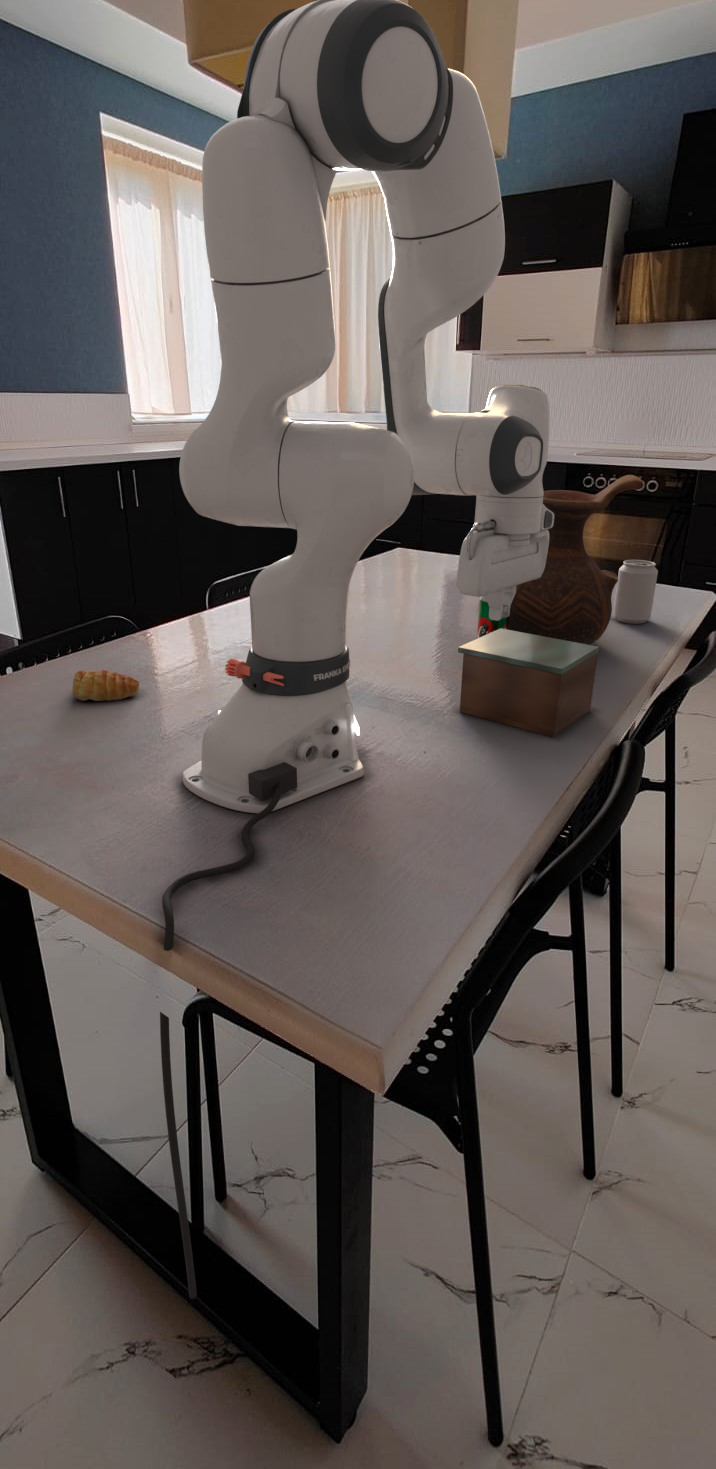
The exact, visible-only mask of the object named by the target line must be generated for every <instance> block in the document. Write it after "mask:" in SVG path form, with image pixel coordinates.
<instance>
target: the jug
mask: <svg viewBox="0 0 716 1469" xmlns="http://www.w3.org/2000/svg"><path fill="white" fill-rule="evenodd" d="M642 485H643V480H642V479H641V478H640V477H638V476H636V475H633V474H627V475H624V476H621V477H619V478H618V479H615V481H613V482H612V483H611V484H609V485H608V486H606V487H605V488H604V489H602V490H601V491H599V492H597V493H596V494H591V493H587V492H582V491H578V490H569V489H568V490H567V489H549V490H543V491H544V496H543V505H545V507H546V508H547V509H549V510H550V511H552V512H553V513H554V524H553V527H552V528H550V529H548V531H549V546H548V553H547V559H546V565H545V569H544V571H543V573H542V576H541V577H540V578H538V579H535V580H532V581H528V582H525V583H522V584H519V585H516V593H515V596H514V598H513V601H512V603H511V605H510V613H509V622H508V630H512V631H517V632H523V633H528V634H533V635H539V636H544V637H549V638H555V639H560V640H565V641H571V642H576V643H581V644H587V645H592V644H593V643H594V642H597V641H598V640H600V638H601V637H602V636H603V635H604V633H605V632H606V630H607V629H608V626H609V624H610V621H611V619H612V614H613V603H612V595H613V591H614V589H615V586H616V585H617V582H618V575H617V574H616V572H614V571H609V570H607V569H601V568H600V567H599V566H598V564H597V563H596V562H595V560H594V559H593V558H591V556H590V555H589V554H588V553H587V551H586V548H585V544H584V538H583V537H584V529H585V525H586V522H587V521H588V519H589V518H590V517H591V516H592V515H594V514H595V513H597V512H600V511H602V510H605V509H606V508H607V507H608V506H609V504H610V503H611V502H612V501H613V499H614V498H615V497H616V495H618V494H620V493H623V492H626V491H630V490H633V491H638V490H640V489H641V488H642Z"/></svg>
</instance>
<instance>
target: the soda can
mask: <svg viewBox="0 0 716 1469" xmlns="http://www.w3.org/2000/svg"><path fill="white" fill-rule="evenodd" d="M508 622H509V616H508V617H506V618H504V619H501V620H498V621H496V620H491V619H490V618H489V605H488V601H487V598H486V595H484V596H481V597H479V602H478V616H477V627H476V628H477V629H476V639H478V638H480V637H482V636H484V635H487V634H489V633H491V632H494V631H496V630H498V629H500V628H501V629H507V630H508Z"/></svg>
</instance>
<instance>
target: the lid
mask: <svg viewBox="0 0 716 1469" xmlns="http://www.w3.org/2000/svg"><path fill="white" fill-rule="evenodd" d="M599 650H600V647H599V646H597V645H592V644H589V645H587V644H581V643H576V642H571V641H565V640H560V639H555V638H549V637H544V636H539V635H533V634H528V633H523V632H517V631H512V630H507V629H501V628H500V629H498V630H496V631H494V632H491V633H489V634H487V635H484V636H482V637H480V638H478V639H477V638H476V639H473V640H471V641H469V642H467V643H464V644H462V645H460V646H458V647H457V653H459V654H468V655H472V656H477V657H482V658H486V659H491V660H496V661H500V662H505V663H510V664H514V665H519V666H524V667H528V668H533V669H538V670H542V671H547V672H552V673H556V674H561V675H562V674H563V673H565V672H567V671H568V670H570V669H571V668H573V667H575V666H576V665H578V664H580V663H581V662H583V661H585V660H586V659H588V658H590V657H591V656H593V655H594V654H596V653H598V654H599Z"/></svg>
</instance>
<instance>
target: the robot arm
mask: <svg viewBox="0 0 716 1469" xmlns="http://www.w3.org/2000/svg"><path fill="white" fill-rule="evenodd" d="M201 167H202V169H201V172H202V174H201V175H202V176H201V178H202V179H201V188H202V189H201V190H202V192H201V193H202V194H201V195H202V214H203V216H202V217H203V231H204V239H205V240H204V241H205V249H206V250H205V251H206V256H207V264H208V270H209V278H210V284H211V289H212V290H211V291H212V295H213V303H214V309H215V316H216V323H217V324H216V325H217V333H218V342H219V352H220V378H219V384H218V390H217V393H216V397H215V401H214V403H213V405H212V407H211V409H210V411H209V412H208V415H207V416H206V418H205V419H204V420H203V421H202V423H201V424H200V425H199V426H198V427H196V429H194V431H193V432H192V433H191V434H190V435H189V436H188V439H187V440H186V441H185V443H184V445H183V448H182V451H181V454H180V459H179V467H178V472H179V473H178V474H179V481H180V485H181V489H182V492H183V495H184V497H185V498H186V500H187V502H188V504H189V506H191V508H192V509H193V510H194V511H195V512H196V514H198V515H199V516H200V517H201V516H202V517H204V518H208V519H211V520H215V521H219V522H222V523H227V524H230V525H234V526H238V527H260V528H280V529H282V528H283V529H293V530H296V532H297V533H296V534H297V535H296V537H297V538H296V539H297V540H296V545H295V549H294V552H293V553H292V554H290V555H287V556H286V557H283V558H281V559H279V560H277V561H275V562H273V563H272V564H270V565H268V566H266V567H265V568H264V569H262V570H261V571H259V573H258V574H257V575H256V576H255V578H254V579H253V581H252V583H251V586H250V589H249V612H250V631H251V632H250V634H251V646H250V647H249V650H248V652H247V656H246V659H245V660H246V661H244V660H243V661H241V660H238V659H236V658H230V659H228V660H227V661H226V664H225V666H224V671H225V674H227V676H229V677H236V678H237V679H241V683H242V684H241V685H240V686H239V688H238V690H236V692H235V693H234V694H233V696H232V697H231V698H230V699H229V700H228V701H227V703H226V704H225V705H224V707H223V708H222V709H221V710H218V711H217V715H216V717H215V718H213V719H212V721H211V722H210V723H209V724H208V726H207V727H206V728H205V730H204V732H203V737H202V742H201V755H200V756H201V759H200V760H198V761H197V762H196V763H194V764H192V765H190V766H189V767H187V768H186V769H184V770H183V772H182V776H181V780H182V783H183V785H184V786H185V788H186V789H188V790H189V791H190V792H191V793H192V794H194V795H196V796H198V797H199V798H202V799H203V800H206V801H208V802H210V803H212V804H215V805H217V806H220V807H224V808H226V809H230V810H234V811H239V812H243V813H250V814H255V815H254V816H253V817H251V818H250V819H249V820H248V821H247V822H246V823H245V824H244V826H243V827H242V830H241V839H242V843H243V845H244V847H245V848H246V851H247V853H246V854H245V855H244V856H243V857H242V858H240V859H238V860H236V861H234V862H232V863H228V864H224V865H219V866H216V867H209V868H206V869H200V870H197V871H194V872H190V873H187V874H185V875H183V876H181V877H179V878H177V879H176V880H174V881H173V882H172V883H171V884H170V885H169V886H168V887H167V888H166V890H165V891H164V893H163V895H162V898H161V905H162V911H163V916H164V925H165V926H164V927H165V928H164V940H163V941H164V942H163V950H164V951H167V952H168V951H171V950H172V949H173V947H174V937H175V918H174V910H173V906H172V902H171V899H172V897H173V895H174V894H175V893H176V892H177V891H178V890H179V889H181V888H182V887H183V886H185V885H186V884H189V883H192V882H194V881H197V880H201V879H206V878H210V877H215V876H220V875H225V874H228V873H232V872H236V871H237V870H240V869H242V868H244V867H246V866H247V865H249V864H250V863H251V861H252V860H253V859H254V857H255V855H256V848H255V846H254V844H253V842H252V840H251V838H250V832H251V830H252V828H253V827H254V826H255V825H256V824H257V823H259V822H260V821H261V820H263V819H264V818H266V817H267V816H268V815H269V814H271V813H272V812H275V811H277V810H279V809H282V808H285V807H287V806H290V805H293V804H295V803H298V802H301V801H302V800H305V799H308V798H310V797H313V796H315V795H318V794H321V793H324V792H325V791H328V790H331V789H334V788H336V787H338V786H342V785H344V784H346V783H349V782H352V781H355V780H357V779H359V778H362V777H363V776H364V775H365V772H364V765H363V763H362V762H361V760H360V759H359V757H360V755H359V751H358V745H357V736H361V735H360V734H361V732H360V731H361V728H360V726H359V725H360V724H358V721H357V719H356V716H355V714H354V707H353V704H352V700H351V697H350V694H349V690H348V684H347V681H348V679H349V678H350V667H351V659H350V649H349V647H348V645H347V644H346V642H347V640H346V639H347V638H346V636H347V610H348V601H349V600H348V599H349V591H350V586H351V581H352V577H353V574H354V571H355V569H356V567H357V564H358V563H359V560H360V558H362V555H363V554H364V553H365V551H366V549H367V548H368V547H369V545H370V544H371V543H372V542H373V541H374V540H375V539H376V538H377V537H378V536H379V535H380V534H382V533H383V532H384V531H385V530H386V529H388V528H389V527H391V526H392V525H393V524H394V523H396V522H397V521H398V520H399V519H400V517H401V516H402V515H403V514H404V512H405V511H406V509H407V507H408V505H409V503H410V500H411V498H412V496H423V495H436V494H438V495H439V494H440V495H450V496H451V495H452V496H453V495H454V496H465V497H466V496H467V497H470V496H476V498H475V510H474V511H475V514H474V524H472V528H471V530H470V531H469V532H468V533H467V535H466V537H465V538H464V540H463V542H462V545H461V548H460V553H459V557H458V558H459V559H458V564H457V565H458V566H457V573H456V581H455V583H456V584H455V586H456V589H457V592H458V594H460V595H462V596H468V597H469V596H470V597H477V598H481V597H482V596H484V595H486V598H487V601H488V605H489V618H490V619H491V620H496V621H498V620H501V619H504V618H506V617H508V616H509V613H510V605H511V603H512V601H513V598H514V596H515V593H516V585H519V584H522V583H525V582H528V581H532V580H535V579H538V578H540V577H541V576H542V573H543V571H544V569H545V565H546V559H547V553H548V546H549V531H548V529H550V528H552V527H553V524H554V513H553V512H552V511H550V510H549V509H547V508H546V507H545V505H543V496H544V491H545V490H544V486H543V477H544V476H543V475H544V472H545V468H546V467H547V464H548V456H549V447H550V446H549V445H550V405H549V397H548V395H547V393H546V392H544V391H543V390H542V389H541V388H538V387H535V386H531V385H525V384H517V383H514V384H513V383H512V384H511V383H509V384H501V385H497V386H495V387H493V388H491V390H490V391H489V394H488V397H487V399H486V400H487V401H486V406H485V408H484V409H482V410H480V412H440V411H438V410H436V409H434V408H433V407H432V406H431V405H430V403H429V402H428V393H427V392H428V390H427V388H428V387H427V371H426V370H427V369H426V352H425V351H426V350H425V344H426V338H427V335H428V334H429V333H430V332H432V331H433V330H435V329H437V328H438V327H441V326H442V325H444V324H446V323H447V322H448V323H449V321H452V320H453V319H455V318H457V317H458V316H460V315H462V314H463V313H464V312H466V311H467V310H468V309H470V308H472V306H474V305H475V304H476V303H477V302H478V301H480V299H481V298H482V297H483V296H484V295H485V294H486V293H487V292H488V291H489V289H490V288H491V287H492V286H493V284H494V283H495V281H496V279H497V277H498V275H499V273H500V270H501V269H502V265H503V262H504V259H505V258H504V257H505V248H506V232H505V231H506V230H505V219H504V210H503V202H502V194H501V188H500V179H499V174H498V168H497V163H496V157H495V153H494V148H493V143H492V139H491V135H490V131H489V127H488V122H487V119H486V116H485V112H484V109H483V106H482V103H481V98H480V95H479V93H478V91H477V87H476V86H475V84H474V83H473V82H472V80H471V79H470V78H469V77H467V76H466V75H465V74H464V73H462V72H460V71H458V70H455V69H453V68H448V67H447V65H446V60H445V57H444V54H443V51H442V48H441V46H440V44H439V41H438V38H437V36H436V35H435V33H434V31H433V29H432V27H431V26H430V25H429V24H428V22H427V20H426V19H425V18H424V16H422V15H421V14H420V13H419V12H418V10H416V9H414V8H413V7H412V6H411V5H409V4H407V3H405V2H403V1H401V0H314V1H311V2H310V3H307V4H305V5H303V6H300V7H298V8H297V7H296V8H292V9H288V10H286V11H285V10H284V11H282V12H281V13H279V14H278V15H277V16H275V17H274V18H272V19H271V20H270V21H269V22H268V23H267V24H266V25H265V26H264V27H263V28H262V30H261V31H260V32H259V34H258V36H257V37H256V39H255V40H254V43H253V45H252V47H251V49H250V52H249V56H248V59H247V63H246V67H245V72H244V79H243V89H242V93H241V96H240V100H239V103H238V107H237V112H236V118H235V119H232V120H231V121H228V122H227V123H225V124H224V125H222V126H221V127H220V128H219V129H218V130H216V131H215V132H214V133H213V134H212V135H211V137H210V138H209V140H208V141H207V143H206V145H205V148H204V151H203V155H202V164H201ZM337 171H343V172H344V171H345V172H347V171H348V172H349V171H367V172H371V173H372V174H373V176H374V178H375V179H376V181H377V183H378V185H379V187H380V190H381V192H382V196H383V198H384V204H385V205H384V206H385V210H386V211H385V212H386V217H387V222H388V226H389V227H388V228H389V232H390V237H391V242H392V270H391V275H390V277H389V278H388V279H387V280H386V281H385V282H384V284H383V285H382V287H381V289H380V293H379V296H378V303H377V304H378V307H377V308H378V309H377V328H378V329H377V330H378V345H379V356H380V367H381V377H382V388H383V397H384V408H385V409H384V410H385V419H386V420H385V421H386V429H383V428H380V427H376V426H370V425H366V424H361V423H356V422H340V421H339V422H336V421H335V422H334V421H333V422H331V421H330V422H329V421H297V420H292V419H290V417H289V412H288V398H290V397H292V396H294V395H295V394H297V393H299V392H300V391H302V390H305V389H307V387H309V386H310V385H312V384H314V383H315V382H316V381H318V380H319V379H320V378H321V377H323V375H324V374H325V373H326V372H327V370H329V368H330V367H331V364H332V362H333V360H334V358H335V354H336V348H337V341H336V339H337V338H336V327H335V314H334V313H335V312H334V301H333V300H334V298H333V289H332V288H333V287H332V276H331V266H330V265H331V262H330V252H329V244H328V242H329V241H328V235H327V228H326V221H327V207H328V202H329V196H330V191H331V188H332V185H333V182H334V180H335V178H336V175H337ZM159 1028H160V1029H159V1032H160V1033H159V1036H160V1054H161V1055H160V1057H161V1073H162V1084H163V1085H162V1086H163V1088H162V1089H163V1098H164V1108H165V1109H164V1110H165V1118H166V1127H167V1135H168V1144H169V1151H170V1160H171V1167H172V1174H173V1181H174V1190H175V1195H176V1204H177V1212H178V1217H179V1225H180V1232H181V1239H182V1246H183V1254H184V1263H185V1270H186V1278H187V1289H188V1297H189V1298H190V1300H194V1299H195V1298H197V1293H198V1292H197V1283H196V1274H195V1265H194V1256H193V1248H192V1240H191V1232H190V1225H189V1218H188V1210H187V1202H186V1195H185V1187H184V1179H183V1173H182V1172H183V1171H182V1165H181V1164H182V1163H181V1157H180V1149H179V1141H178V1132H177V1123H176V1113H175V1103H174V1091H173V1079H172V1078H173V1077H172V1064H171V1063H172V1062H171V1043H170V1042H171V1041H170V1039H171V1038H170V1017H169V1016H167V1015H166V1014H165V1013H164V1012H162V1011H159Z"/></svg>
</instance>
